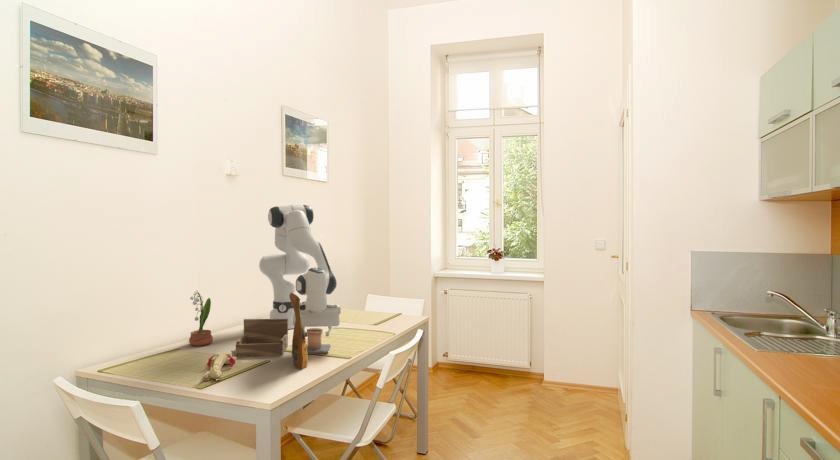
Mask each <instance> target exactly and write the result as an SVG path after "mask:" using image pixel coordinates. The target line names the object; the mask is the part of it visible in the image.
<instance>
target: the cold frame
mask: <svg viewBox="0 0 840 460" xmlns="http://www.w3.org/2000/svg"><path fill="white" fill-rule="evenodd" d="M235 343H236V344H235V357H238V358H239V357H240V358H241V357H273V356H274V357H278V356H280V357H281V356H283V355H284V353H285V352H286V350H287V349H288V346H289V329H288V318H284V319H270V318H244V319H243V335H242V336H241V337H239V339H238V340H236V342H235ZM286 348H287V349H286Z"/></svg>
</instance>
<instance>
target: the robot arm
mask: <svg viewBox="0 0 840 460" xmlns="http://www.w3.org/2000/svg"><path fill="white" fill-rule="evenodd" d="M314 215H315V214H314V210H313V207H311V206H310V205H307V204H303V205H302V204H301V205H300V204H290V205H282V206H281V205H280V206H273V207H270V209H269V210H268V214H267V221H268V223H269V225H270V226H271V227H272V228H275V229H274V246H275V247H276V248H277V250H279V251H281V252H283V253H285V254H270V255H269V254H268V255H263V256H262V257H261V258H260V260H259V263H258V267H259V270H260V272H261V273H262V275H264V276H265V277H267V278H268V279H269V280H270V282H271V284H272V290H273V300H272V310H271V311H269V319H284V318H288V330H292V329H294V326H295V321H296V318H295V312H294V309H293V306H292V303H291V300H290V296H289V295H290V293H291V292H292V293H293V294H295V295H296V292H297V293H298V294H299V295H301V296H306V299H305V301H302V302H300V314H301V319H302V323H303V328H304V333H305V338H308V334H307V330H305V329H306V328H307V327H308V328H309V327H310V328H320V327H327V328H328V330H327V331H325V337H330V332H331V331H332V328H333V327H338V326H340V324H341V319H340V314H341V307H340V306H339V305H338V304H328V297H327V296H328V295H331V294H332V293H334V291H335V290H336V288H337V284H338V283H337V280H336V276H335V275H334V273H333V271H332V269H331V266H330V265H329V264H330V263H329V262H328V258H327V255H326V253H325V251H324V249H323V247H322V244H321V243H320V242H319V241H317V240H316V239H315V236H314V235H313V233H312V230H311V226H310V225H312V223H313V222H314ZM303 253H304V254H303ZM305 254H306V255H309V256H310V257H312V258H313V259H314V260H315V263H316V266H317V267H310V260H309V258H308V256H306V255H305ZM286 275H290V276H291V275H292V276H293V275H299V276H298V277H296V280H295V285H294V283H292V282H290V281H288V280H286V279H285V278H284V276H286Z"/></svg>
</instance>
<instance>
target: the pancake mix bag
mask: <svg viewBox="0 0 840 460" xmlns="http://www.w3.org/2000/svg"><path fill="white" fill-rule="evenodd" d="M289 296H290V300H291V303H292V306H293V309H294V312H295V318H296V321H295V326H294V328H293V332H292V333H293V334H292V341H291V342H292V343H291V356H292V360H293V364H294V368H295V369H297V370H298V369H299V370H303V369H305V368H307V367H308V363H309V362H308V361H309V358H308V357H309V356H308V355H309V354H308V353H307V339H306V338H307V337H305V333H304V330H305V329H304V328H303V323H302V319H301V314H300V303H301V299H300V297H299V296H298V295H297V294H296V293H295V294H293V293H292V292H291V293H290V295H289Z"/></svg>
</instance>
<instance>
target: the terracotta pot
mask: <svg viewBox="0 0 840 460" xmlns="http://www.w3.org/2000/svg"><path fill="white" fill-rule="evenodd" d="M306 332H307V334H308V336H307V339H306V344H307V349H310V350H317V349H321V344H322V337H323V335H322V334H323V328H320V327H310V328H307V329H306Z"/></svg>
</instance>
